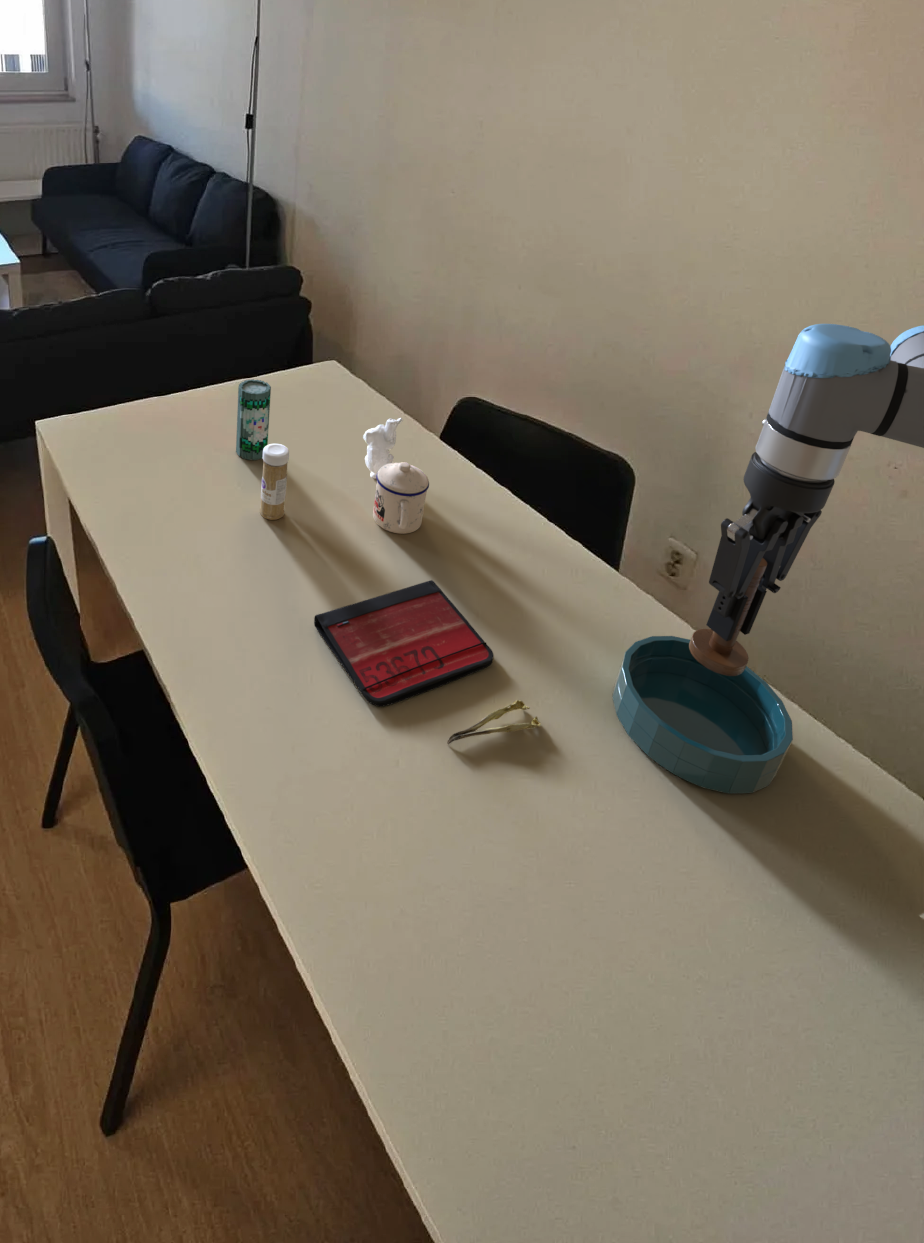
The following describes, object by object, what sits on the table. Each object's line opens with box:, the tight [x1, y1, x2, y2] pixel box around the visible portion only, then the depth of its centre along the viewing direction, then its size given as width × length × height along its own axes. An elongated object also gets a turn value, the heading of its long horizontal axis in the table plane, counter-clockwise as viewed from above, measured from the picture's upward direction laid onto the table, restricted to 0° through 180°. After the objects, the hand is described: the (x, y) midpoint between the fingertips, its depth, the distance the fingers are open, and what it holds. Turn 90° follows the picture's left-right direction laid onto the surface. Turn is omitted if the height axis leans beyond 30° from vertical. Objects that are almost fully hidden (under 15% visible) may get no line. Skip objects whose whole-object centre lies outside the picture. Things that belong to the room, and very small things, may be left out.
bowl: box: [612, 635, 794, 794], centre depth 95 cm, size 19×19×6 cm
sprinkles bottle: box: [259, 443, 290, 521], centre depth 131 cm, size 5×5×13 cm
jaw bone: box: [446, 699, 542, 746], centre depth 94 cm, size 4×13×2 cm, turn 114°
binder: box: [313, 579, 494, 708], centre depth 106 cm, size 16×2×21 cm
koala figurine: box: [362, 417, 404, 479], centre depth 144 cm, size 8×7×12 cm
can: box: [235, 378, 272, 461], centre depth 149 cm, size 6×6×15 cm
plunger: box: [689, 558, 767, 676], centre depth 88 cm, size 6×6×15 cm
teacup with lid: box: [372, 461, 430, 535], centre depth 129 cm, size 12×9×12 cm
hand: (727, 628), depth 89 cm, fingers closed on plunger, 2 cm apart
